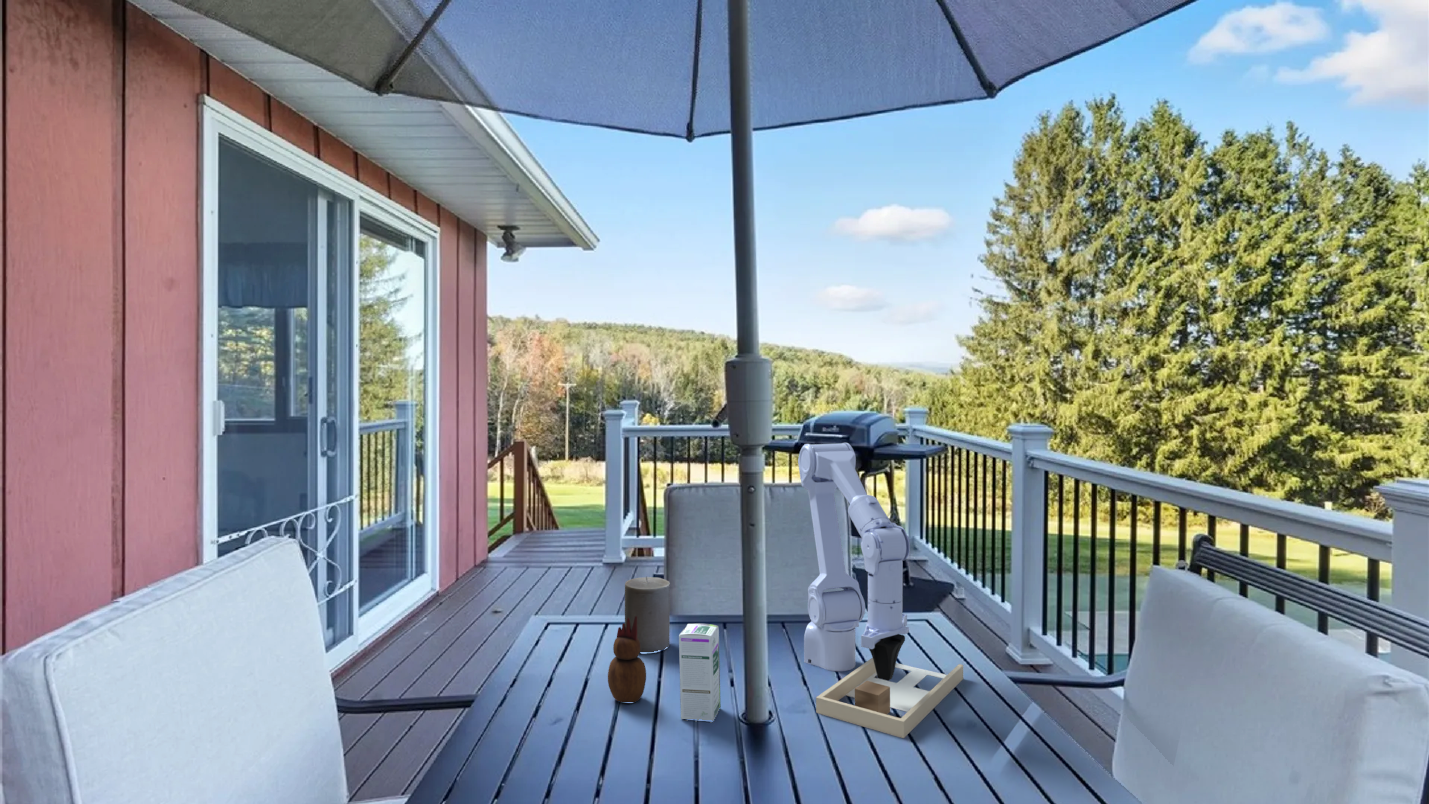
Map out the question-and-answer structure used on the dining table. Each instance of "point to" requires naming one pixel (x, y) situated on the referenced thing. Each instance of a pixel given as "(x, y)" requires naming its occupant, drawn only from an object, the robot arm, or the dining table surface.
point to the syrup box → (699, 671)
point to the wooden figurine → (627, 665)
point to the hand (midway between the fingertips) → (884, 678)
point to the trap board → (900, 698)
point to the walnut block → (873, 697)
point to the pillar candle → (649, 611)
